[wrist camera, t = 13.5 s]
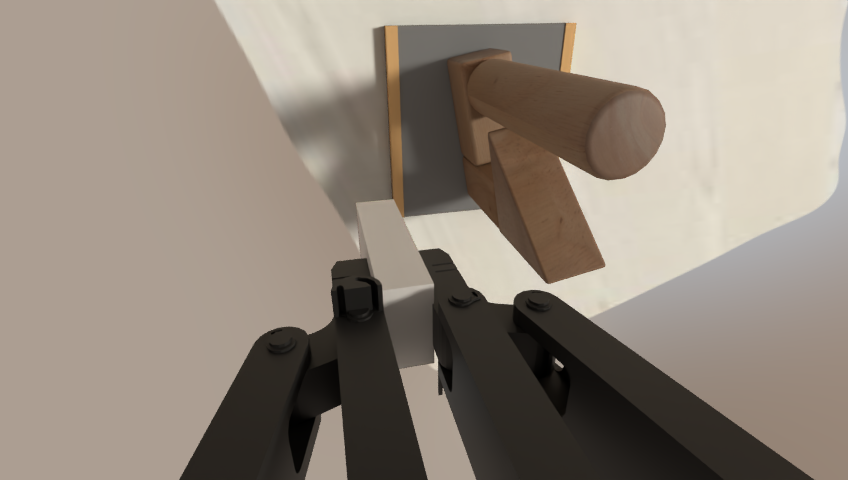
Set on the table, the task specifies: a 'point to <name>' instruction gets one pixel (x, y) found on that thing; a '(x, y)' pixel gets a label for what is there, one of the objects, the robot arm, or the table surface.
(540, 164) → the wooden block assembly
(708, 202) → the table surface
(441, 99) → the mat
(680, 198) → the table surface
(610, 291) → the table surface
